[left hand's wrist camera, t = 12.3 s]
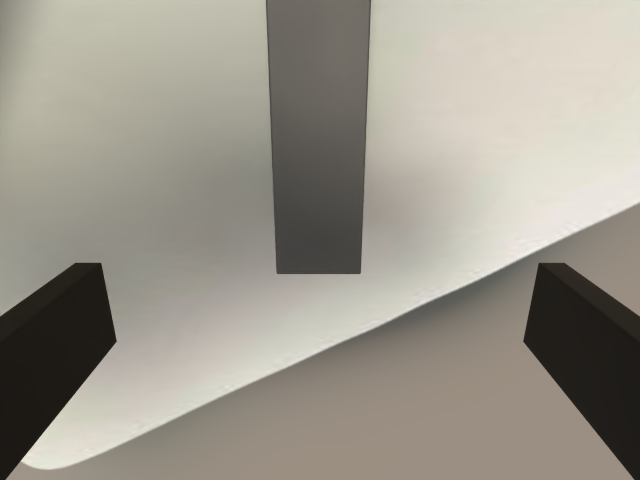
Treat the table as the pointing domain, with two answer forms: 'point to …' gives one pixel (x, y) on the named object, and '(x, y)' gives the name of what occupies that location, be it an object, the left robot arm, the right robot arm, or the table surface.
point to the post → (318, 131)
